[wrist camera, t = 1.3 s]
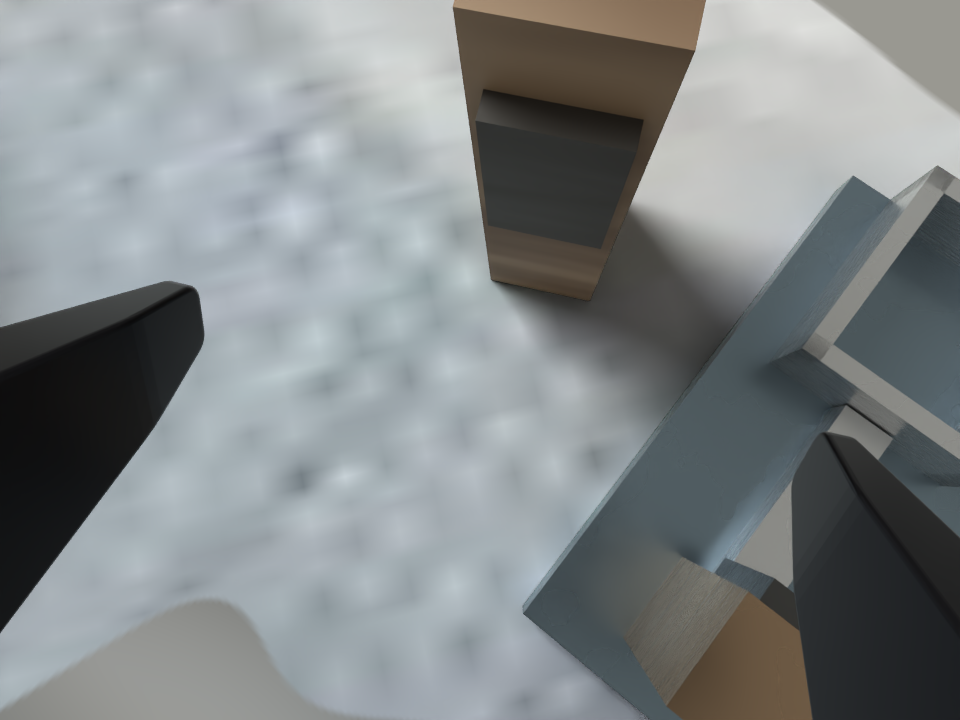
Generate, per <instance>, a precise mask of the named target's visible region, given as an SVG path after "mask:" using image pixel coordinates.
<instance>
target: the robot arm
mask: <svg viewBox="0 0 960 720" xmlns="http://www.w3.org/2000/svg"><path fill="white" fill-rule="evenodd" d="M203 341H204V326H203V319H202V312H201V305H200V298H199V294H198V292H197V290H196V289H195V288H194V287H193V286H190V285H186V284H182V283H177V282H173V281H164V282H160V283H157V284H153V285H150V286H146V287H142V288H139V289H135V290H132V291H128V292H125V293H121V294H118V295H114V296H110V297H107V298H103V299H100V300H96V301H93V302H89V303H86V304H82V305H78V306H75V307H71V308H68V309H64V310H61V311H57V312H53V313H50V314H46V315H43V316H39V317H36V318H32V319H29V320H25V321H21V322H18V323H14V324H11V325H7V326H4V327H0V633H1V631H2V630H3V629H4V627H5V626H6V625H7V623H8V622H9V621H10V619H11V618H12V617H13V615H14V614H15V613H16V611H17V610H18V609H19V607H20V606H21V605H22V603H23V602H24V601H25V599H26V598H27V597H28V596H29V594H30V593H31V592H32V590H33V589H34V588H35V586H36V585H37V584H38V582H39V581H40V580H41V578H42V577H43V576H44V574H45V573H46V572H47V570H48V569H49V568H50V566H51V565H52V564H53V562H54V561H55V560H56V558H57V557H58V556H59V554H60V553H61V552H62V550H63V549H64V548H65V546H66V545H67V544H68V542H69V541H70V540H71V538H72V537H73V536H74V534H75V533H76V532H77V530H78V529H79V528H80V526H81V525H82V524H83V522H84V521H85V520H86V518H87V517H88V516H89V514H90V513H91V512H92V510H93V509H94V508H95V506H96V505H97V504H98V502H99V501H100V500H101V498H102V497H103V496H104V494H105V493H106V492H107V490H108V489H109V488H110V486H111V485H112V484H113V482H114V481H115V480H116V478H117V477H118V476H119V474H120V473H121V472H122V470H123V469H124V468H125V466H126V465H127V464H128V462H129V461H130V460H131V458H132V457H133V456H134V454H135V453H136V452H137V450H138V449H139V448H140V446H141V445H142V444H143V442H144V441H145V440H146V438H147V437H148V435H149V434H150V433H151V431H152V430H153V428H154V427H155V425H156V424H157V422H158V421H159V419H160V418H161V416H162V414H163V413H164V411H165V409H166V408H167V406H168V404H169V403H170V401H171V399H172V397H173V396H174V394H175V392H176V391H177V389H178V387H179V385H180V384H181V382H182V380H183V379H184V377H185V375H186V374H187V372H188V370H189V368H190V367H191V365H192V363H193V362H194V360H195V358H196V356H197V355H198V353H199V351H200V349H201V347H202V345H203ZM791 505H792V557H793V586H794V595H795V604H796V611H797V618H798V624H799V631H800V638H801V645H802V652H803V659H804V666H805V672H806V679H807V686H808V693H809V700H810V707H811V714H812V720H960V537H959V536H958V535H957V534H956V533H955V532H954V531H953V530H952V529H951V528H949V527H948V526H947V525H946V524H945V523H944V522H943V521H942V520H941V519H940V518H939V517H938V516H937V515H936V514H935V513H934V512H933V511H932V510H930V509H929V508H928V507H927V506H926V505H925V504H924V503H923V502H922V501H921V500H920V499H919V498H918V497H917V496H916V495H915V494H914V493H912V492H911V491H910V490H909V489H908V488H907V487H906V486H905V485H904V484H903V483H902V482H901V481H900V480H899V479H898V478H897V477H896V476H894V475H893V474H892V473H891V472H890V471H889V470H888V469H887V468H886V467H885V466H884V465H883V464H882V463H881V462H880V461H879V460H878V459H876V458H875V457H874V456H873V455H872V454H871V453H870V452H869V451H868V450H867V449H866V448H865V447H864V446H863V445H862V444H861V443H860V442H858V441H857V440H856V439H855V438H853V437H850V436H845V435H841V434H836V433H832V432H828V431H825V432H822V433H820V434H819V435H817V437H816V438H815V439H814V441H813V443H812V444H811V446H810V448H809V449H808V451H807V453H806V455H805V456H804V458H803V460H802V461H801V463H800V465H799V467H798V468H797V470H796V472H795V474H794V477H793V480H792V486H791Z"/></svg>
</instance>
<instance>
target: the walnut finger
mask: <svg viewBox="0 0 960 720" xmlns="http://www.w3.org/2000/svg"><path fill="white" fill-rule="evenodd" d="M705 2H706V0H455V1H454V4H453V12H454V19H455V26H456V33H457V40H458V47H459V54H460V62H461V69H462V76H463V83H464V90H465V97H466V104H467V112H468V119H469V126H470V133H471V140H472V147H473V154H474V161H475V169H476V176H477V183H478V190H479V197H480V204H481V211H482V219H483V226H484V233H485V240H486V247H487V254H488V261H489V269H490V276H491V280H495V281H499V282H504V283H508V284H513V285H518V286H522V287H527V288H531V289H536V290H541V291H545V292H550V293H554V294H559V295H564V296H568V297H573V298H577V299H582V300H586V301H590V299H591V297H592V295H593V292H594V290H595V288H596V285H597V283H598V280H599V278H600V276H601V273H602V271H603V269H604V266H605V264H606V261H607V259H608V257H609V254H610V252H611V250H612V247H613V245H614V242H615V240H616V238H617V235H618V233H619V231H620V228H621V226H622V223H623V221H624V219H625V216H626V214H627V212H628V209H629V207H630V204H631V202H632V200H633V197H634V195H635V193H636V190H637V188H638V185H639V183H640V181H641V178H642V176H643V174H644V171H645V169H646V166H647V164H648V162H649V159H650V157H651V155H652V152H653V150H654V147H655V145H656V143H657V140H658V138H659V136H660V133H661V131H662V128H663V126H664V124H665V121H666V119H667V117H668V114H669V112H670V109H671V107H672V105H673V102H674V100H675V98H676V95H677V93H678V90H679V88H680V86H681V83H682V81H683V79H684V76H685V74H686V71H687V69H688V67H689V64H690V62H691V60H692V57H693V55H694V52H695V50H696V45H697V40H698V35H699V30H700V26H701V21H702V16H703V11H704V7H705Z"/></svg>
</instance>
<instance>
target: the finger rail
mask: <svg viewBox="0 0 960 720" xmlns="http://www.w3.org/2000/svg"><path fill="white" fill-rule="evenodd" d="M825 431H828V432H832V433H836V434H841V435H845V436H850V437H853V438H855V439H856V440H857V441H858V442H860V443H861V444H862V445H863V446H864V447H865V448H866V449H867V450H868V451H869V452H870V453H871V454H872V455H873V456H874V457H875V458H876V459H878V460H879V461H880V462H881V463H882V464H883V465H884V466H885V467H886V468H887V469H888V470H889V471H890V472H891V473H892V474H893V475H894V476H896V477H897V478H898V479H899V480H900V481H901V482H902V483H903V484H904V485H905V486H906V487H907V488H908V489H909V490H910V491H911V492H912V493H914V494H915V495H916V496H917V497H918V498H919V499H920V500H921V501H922V502H923V503H924V504H925V505H926V506H927V507H928V508H929V509H930V510H932V511H933V512H934V513H935V514H936V515H937V516H938V517H939V518H940V519H941V520H942V521H943V522H944V523H945V524H946V525H947V526H948V527H949V528H951V529H952V530H953V531H954V532H955V533H956V534H957V535H958V536H959V537H960V180H959V179H958V178H956V177H955V176H953V175H952V174H950V173H948V172H947V171H945V170H944V169H942V168H941V167H939V166H936V167H935V168H933V169H932V170H930V171H929V172H928V173H926V174H925V175H924V176H922V177H921V178H919V179H918V180H917V181H915V182H914V183H913V184H911V185H910V186H909V187H907V188H906V189H904V190H903V191H902V192H900V193H899V194H898V195H896V196H895V197H893V198H892V199H891V200H890V199H888V198H887V197H885V196H884V195H882V194H881V193H879V192H878V191H876V190H875V189H873V188H871V187H870V186H868V185H867V184H865V183H864V182H862V181H861V180H859V179H858V178H856V177H855V176H852V177H851V178H850V179H849V180H848V181H846V182H845V183H844V184H843V185H842V186H841V187H840V188H839V189H837V190H836V192H835V193H834V194H833V195H832V197H831V198H830V199H829V201H828V202H827V203H826V205H825V206H824V207H823V209H822V210H821V211H820V213H819V214H818V215H817V217H816V218H815V219H814V221H813V222H812V223H811V225H810V226H809V227H808V229H807V230H806V231H805V233H804V234H803V235H802V237H801V238H800V239H799V241H798V242H797V243H796V245H795V246H794V247H793V248H792V250H791V251H790V252H789V254H788V255H787V256H786V258H785V259H784V260H783V262H782V263H781V264H780V266H779V267H778V268H777V270H776V271H775V272H774V274H773V275H772V276H771V278H770V279H769V280H768V282H767V283H766V284H765V286H764V287H763V288H762V290H761V291H760V292H759V294H758V295H757V296H756V297H755V299H754V300H753V301H752V303H751V304H750V305H749V307H748V308H747V309H746V311H745V312H744V313H743V315H742V316H741V317H740V319H739V320H738V321H737V323H736V324H735V325H734V327H733V328H732V329H731V331H730V332H729V333H728V335H727V336H726V337H725V339H724V340H723V341H722V343H721V344H720V345H719V347H718V348H717V349H716V350H715V352H714V353H713V354H712V356H711V357H710V358H709V360H708V361H707V362H706V364H705V365H704V366H703V368H702V369H701V370H700V372H699V373H698V374H697V376H696V377H695V378H694V380H693V381H692V382H691V384H690V385H689V386H688V388H687V389H686V390H685V392H684V393H683V394H682V396H681V397H680V398H679V399H678V401H677V402H676V403H675V405H674V406H673V407H672V409H671V410H670V411H669V413H668V414H667V415H666V417H665V418H664V419H663V421H662V422H661V423H660V425H659V426H658V427H657V429H656V430H655V431H654V433H653V434H652V435H651V437H650V438H649V439H648V441H647V442H646V443H645V445H644V446H643V447H642V449H641V450H640V451H639V452H638V454H637V455H636V456H635V458H634V459H633V460H632V462H631V463H630V464H629V466H628V467H627V468H626V470H625V471H624V472H623V474H622V475H621V476H620V478H619V479H618V480H617V482H616V483H615V484H614V486H613V487H612V488H611V490H610V491H609V492H608V494H607V495H606V496H605V498H604V499H603V500H602V501H601V503H600V504H599V505H598V507H597V508H596V509H595V511H594V512H593V513H592V515H591V516H590V517H589V519H588V520H587V521H586V523H585V524H584V525H583V527H582V528H581V529H580V531H579V532H578V533H577V535H576V536H575V537H574V539H573V540H572V541H571V543H570V544H569V545H568V547H567V548H566V549H565V551H564V552H563V553H562V554H561V556H560V557H559V558H558V560H557V561H556V562H555V564H554V565H553V566H552V568H551V569H550V570H549V572H548V573H547V574H546V576H545V577H544V578H543V580H542V581H541V582H540V584H539V585H538V586H537V588H536V589H535V590H534V592H533V593H532V594H531V596H530V597H529V598H528V600H527V601H526V602H525V603H524V605H523V614H524V615H525V616H527V617H528V618H529V619H530V620H531V621H533V622H534V623H535V624H536V625H537V626H539V627H540V628H541V629H542V630H543V631H545V632H546V633H547V634H548V635H549V636H551V637H552V638H553V639H554V640H555V641H557V642H558V643H559V644H560V645H561V646H563V647H564V648H565V649H566V650H567V651H569V652H570V653H571V654H572V655H573V656H575V657H576V658H577V659H578V660H579V661H581V662H582V663H583V664H584V665H585V666H587V667H588V668H589V669H590V670H591V671H593V672H594V673H595V674H596V675H597V676H599V677H600V678H601V679H602V680H603V681H605V682H606V683H607V684H608V685H609V686H611V687H612V688H613V689H614V690H615V691H617V692H618V693H619V694H620V695H621V696H623V697H624V698H625V699H626V700H627V701H629V702H630V703H631V704H632V705H633V706H635V707H636V708H637V709H638V710H639V711H641V712H642V713H643V714H644V715H645V716H647V717H648V718H649V719H650V720H812V714H811V707H810V700H809V693H808V686H807V679H806V672H805V666H804V659H803V652H802V645H801V638H800V631H799V624H798V618H797V611H796V604H795V595H794V586H793V557H792V505H791V486H792V480H793V477H794V474H795V472H796V470H797V468H798V467H799V465H800V463H801V461H802V460H803V458H804V456H805V455H806V453H807V451H808V449H809V448H810V446H811V444H812V443H813V441H814V439H815V438H816V437H817V435H819V434H820V433H822V432H825Z"/></svg>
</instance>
